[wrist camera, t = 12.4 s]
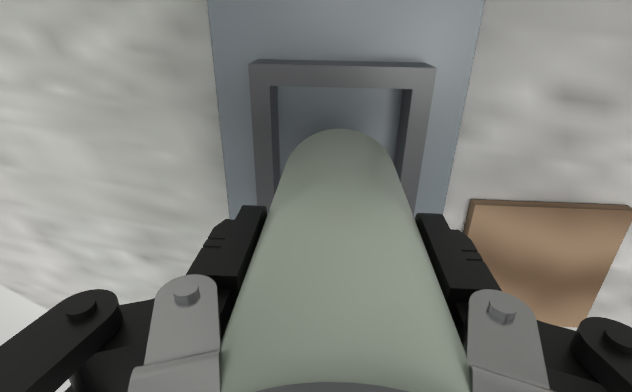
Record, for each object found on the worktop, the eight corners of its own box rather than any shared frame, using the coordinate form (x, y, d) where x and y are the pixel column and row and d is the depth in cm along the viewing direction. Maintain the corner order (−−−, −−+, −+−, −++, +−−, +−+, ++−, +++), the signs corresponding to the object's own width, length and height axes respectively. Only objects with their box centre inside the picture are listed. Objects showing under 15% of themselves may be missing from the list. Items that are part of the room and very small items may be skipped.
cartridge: (278, 124, 14) (85, 463, 3) (406, 128, 14) (641, 506, 3) (282, 231, 16) (173, 640, 6) (391, 236, 16) (499, 671, 5)
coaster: (471, 199, 23) (475, 204, 23) (627, 205, 23) (636, 210, 22) (444, 313, 28) (447, 320, 27) (575, 319, 27) (581, 327, 27)
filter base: (188, -247, 15) (125, -361, 11) (525, -251, 14) (610, -374, 10) (237, 245, 26) (216, 292, 22) (429, 254, 25) (449, 303, 21)
